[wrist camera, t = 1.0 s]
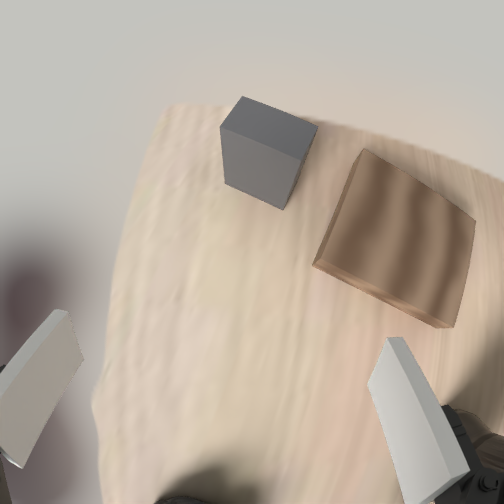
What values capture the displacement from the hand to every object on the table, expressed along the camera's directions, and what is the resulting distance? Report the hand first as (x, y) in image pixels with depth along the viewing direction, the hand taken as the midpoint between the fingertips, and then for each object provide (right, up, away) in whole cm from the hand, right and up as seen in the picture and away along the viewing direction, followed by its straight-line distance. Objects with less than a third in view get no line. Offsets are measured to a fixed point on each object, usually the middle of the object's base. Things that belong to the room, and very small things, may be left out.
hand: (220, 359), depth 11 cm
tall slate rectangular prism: (+2, +13, +26) cm, 29 cm away
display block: (+21, +5, +25) cm, 33 cm away
